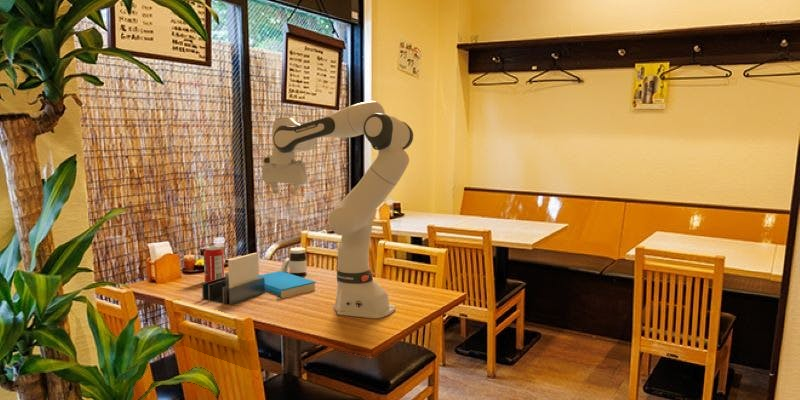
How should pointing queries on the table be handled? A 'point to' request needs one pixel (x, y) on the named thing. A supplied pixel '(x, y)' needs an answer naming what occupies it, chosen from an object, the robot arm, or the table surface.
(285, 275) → the book
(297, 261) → the striped mug
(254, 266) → the tall sheet
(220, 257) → the soda can
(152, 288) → the table surface
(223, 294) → the rack
